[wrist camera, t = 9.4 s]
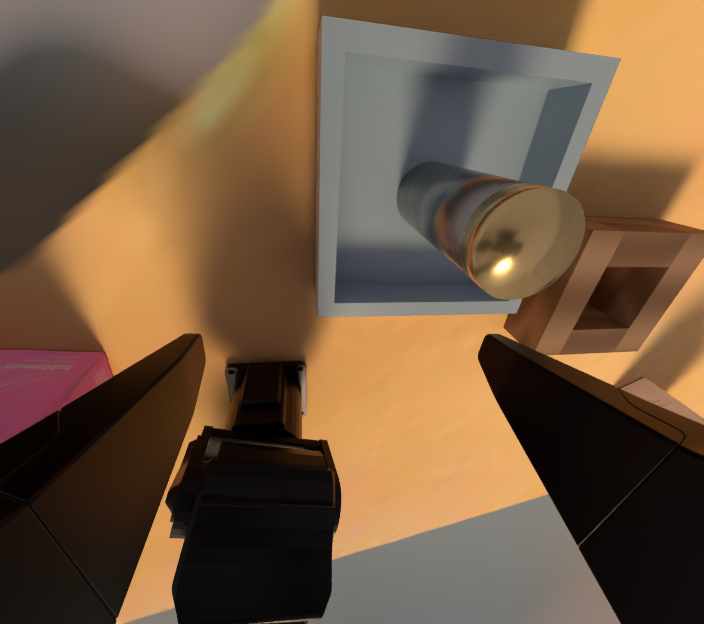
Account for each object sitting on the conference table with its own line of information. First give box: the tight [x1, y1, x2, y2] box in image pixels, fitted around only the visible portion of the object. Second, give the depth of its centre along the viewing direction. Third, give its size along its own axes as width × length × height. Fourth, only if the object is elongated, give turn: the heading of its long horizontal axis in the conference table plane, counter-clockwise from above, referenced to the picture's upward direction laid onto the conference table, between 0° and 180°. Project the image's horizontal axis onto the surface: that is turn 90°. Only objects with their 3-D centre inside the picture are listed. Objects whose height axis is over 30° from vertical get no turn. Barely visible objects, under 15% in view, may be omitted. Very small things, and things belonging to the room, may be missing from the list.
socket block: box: [504, 216, 704, 355], centre depth 24 cm, size 10×10×4 cm
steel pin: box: [397, 161, 585, 300], centre depth 15 cm, size 4×4×10 cm
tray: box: [315, 15, 621, 317], centre depth 18 cm, size 14×14×4 cm
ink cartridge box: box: [620, 377, 704, 425], centre depth 30 cm, size 9×5×15 cm, turn 30°
